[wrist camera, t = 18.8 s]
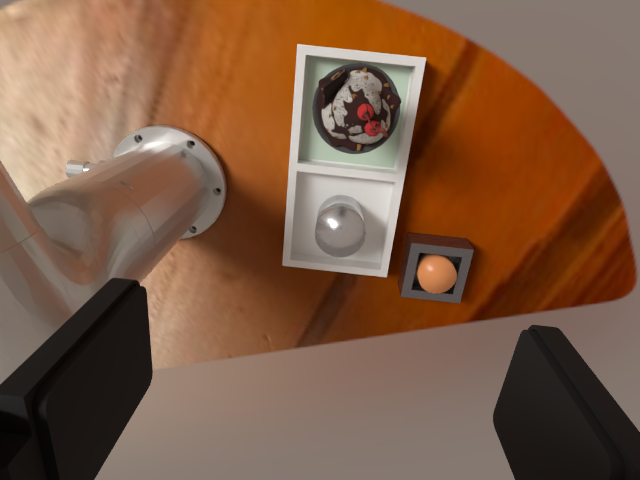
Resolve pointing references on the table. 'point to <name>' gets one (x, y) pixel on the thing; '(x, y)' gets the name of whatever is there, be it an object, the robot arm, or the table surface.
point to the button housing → (439, 245)
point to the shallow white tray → (347, 165)
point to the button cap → (435, 273)
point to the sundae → (356, 108)
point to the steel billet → (340, 226)
